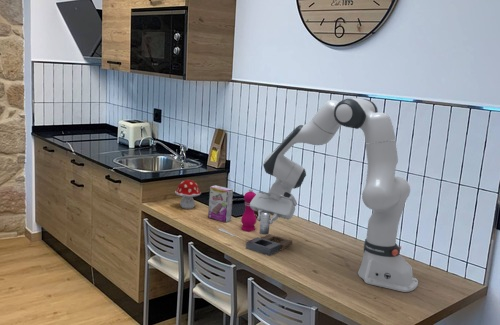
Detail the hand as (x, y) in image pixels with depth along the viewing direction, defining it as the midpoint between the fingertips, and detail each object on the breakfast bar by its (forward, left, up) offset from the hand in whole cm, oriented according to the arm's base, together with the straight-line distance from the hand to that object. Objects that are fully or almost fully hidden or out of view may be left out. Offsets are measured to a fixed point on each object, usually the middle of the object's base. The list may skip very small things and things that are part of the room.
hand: (264, 221), depth 216 cm
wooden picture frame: (0, -11, -12) cm, 16 cm away
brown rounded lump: (+26, -38, -13) cm, 48 cm away
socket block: (0, -1, -12) cm, 13 cm away
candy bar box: (+39, -20, -13) cm, 46 cm away
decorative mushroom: (+64, -24, -13) cm, 69 cm away
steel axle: (0, -1, -5) cm, 5 cm away
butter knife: (+18, -6, -13) cm, 23 cm away
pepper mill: (+20, -18, -13) cm, 30 cm away
